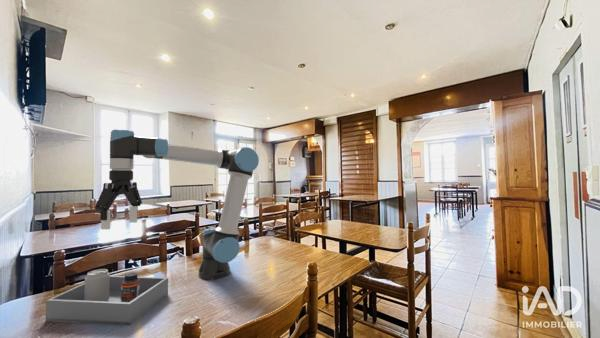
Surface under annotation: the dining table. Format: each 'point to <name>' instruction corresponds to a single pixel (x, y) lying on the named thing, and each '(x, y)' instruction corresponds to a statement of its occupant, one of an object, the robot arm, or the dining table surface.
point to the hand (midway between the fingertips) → (120, 225)
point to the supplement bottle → (130, 287)
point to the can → (97, 285)
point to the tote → (106, 303)
